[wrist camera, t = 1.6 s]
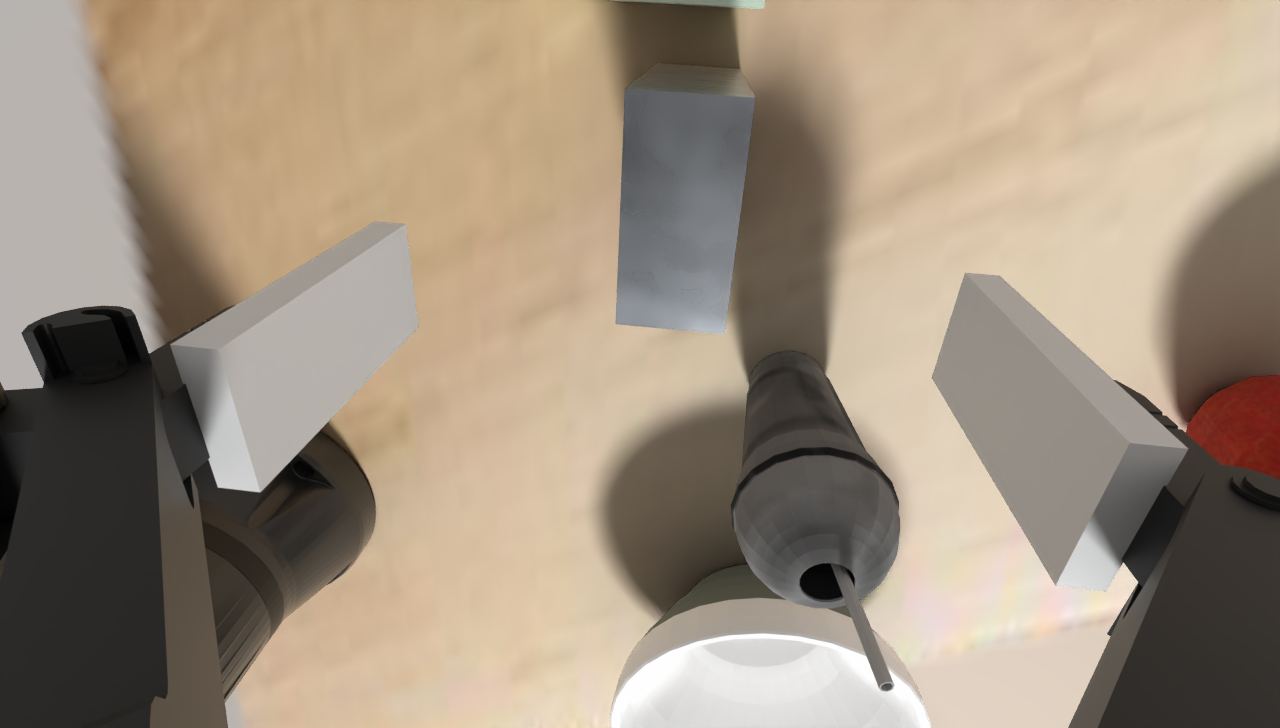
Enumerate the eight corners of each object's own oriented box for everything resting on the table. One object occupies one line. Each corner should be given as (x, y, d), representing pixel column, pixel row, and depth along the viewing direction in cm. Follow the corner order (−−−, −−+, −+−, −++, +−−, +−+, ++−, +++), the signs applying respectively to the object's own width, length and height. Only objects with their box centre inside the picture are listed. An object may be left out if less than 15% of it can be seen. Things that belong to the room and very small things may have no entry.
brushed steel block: (647, 225, 35) (615, 324, 24) (657, 62, 31) (625, 88, 20) (720, 231, 34) (724, 334, 23) (740, 68, 31) (755, 97, 19)
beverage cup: (714, 343, 38) (715, 625, 20) (841, 318, 36) (962, 600, 19) (738, 443, 41) (758, 762, 23) (856, 424, 39) (972, 750, 22)
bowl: (872, 492, 42) (912, 611, 33) (907, 684, 50) (946, 817, 42) (592, 538, 46) (565, 654, 38) (667, 708, 54) (659, 833, 46)
